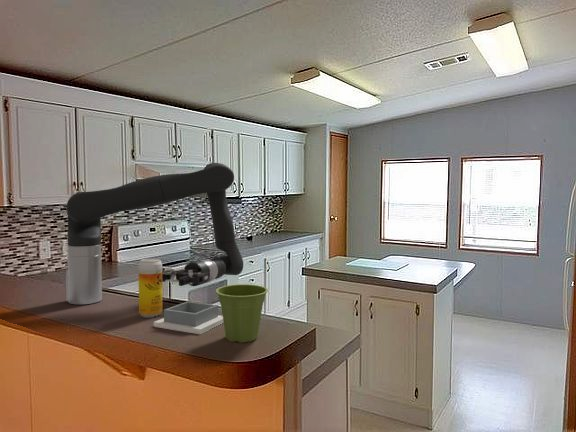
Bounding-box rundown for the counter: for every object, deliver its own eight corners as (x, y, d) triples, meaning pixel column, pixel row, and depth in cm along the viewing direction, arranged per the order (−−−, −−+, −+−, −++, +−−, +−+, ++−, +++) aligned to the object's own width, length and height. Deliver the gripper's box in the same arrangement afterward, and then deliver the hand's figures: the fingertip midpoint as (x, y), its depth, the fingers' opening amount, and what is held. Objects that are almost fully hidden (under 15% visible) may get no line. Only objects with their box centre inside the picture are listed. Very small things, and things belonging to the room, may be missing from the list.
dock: (153, 326, 109) (153, 309, 109) (184, 314, 120) (183, 299, 120) (200, 334, 103) (200, 316, 103) (227, 321, 114) (227, 305, 114)
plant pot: (204, 340, 99) (204, 290, 99) (239, 327, 109) (239, 282, 109) (244, 350, 93) (245, 298, 92) (277, 336, 102) (278, 288, 102)
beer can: (155, 318, 116) (155, 262, 115) (134, 317, 117) (134, 261, 116) (166, 312, 122) (166, 258, 121) (146, 311, 123) (145, 258, 122)
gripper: (182, 258, 143) (148, 266, 128) (220, 262, 137) (188, 269, 122) (182, 281, 143) (148, 291, 129) (219, 285, 138) (188, 296, 123)
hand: (167, 280), depth 126 cm, fingers open, 8 cm apart
